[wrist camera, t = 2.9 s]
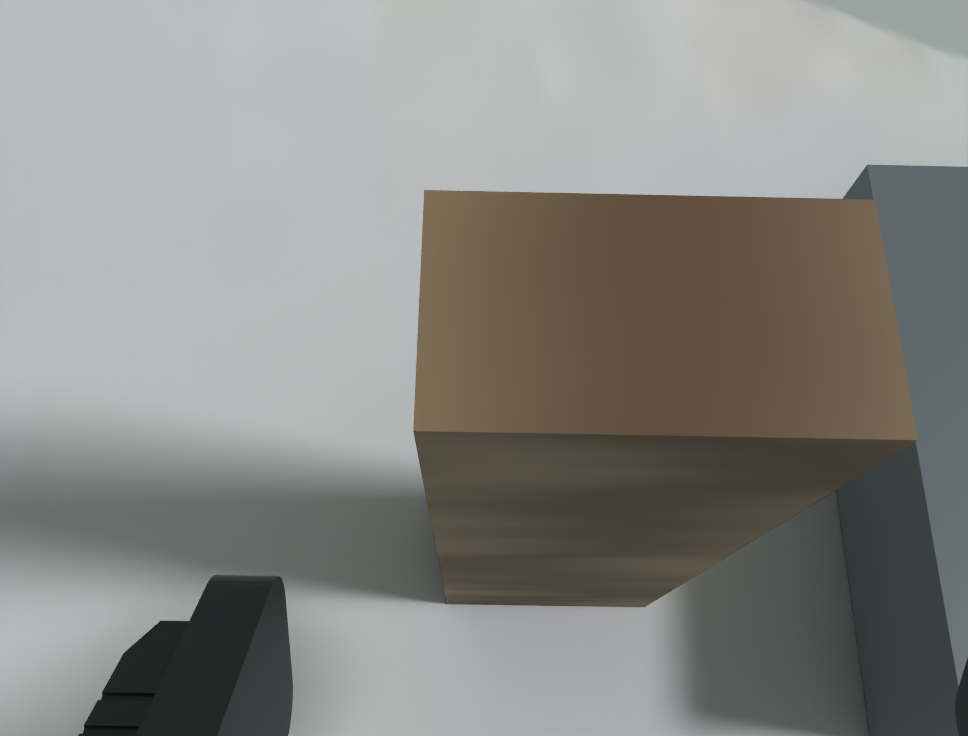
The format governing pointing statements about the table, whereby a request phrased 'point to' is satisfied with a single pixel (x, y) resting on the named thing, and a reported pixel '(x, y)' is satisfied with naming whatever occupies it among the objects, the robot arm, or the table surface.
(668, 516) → the slat
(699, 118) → the table surface
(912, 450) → the grey square socket block
